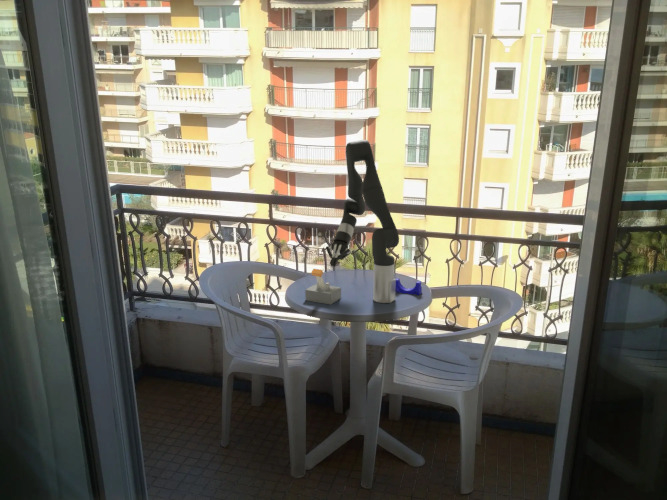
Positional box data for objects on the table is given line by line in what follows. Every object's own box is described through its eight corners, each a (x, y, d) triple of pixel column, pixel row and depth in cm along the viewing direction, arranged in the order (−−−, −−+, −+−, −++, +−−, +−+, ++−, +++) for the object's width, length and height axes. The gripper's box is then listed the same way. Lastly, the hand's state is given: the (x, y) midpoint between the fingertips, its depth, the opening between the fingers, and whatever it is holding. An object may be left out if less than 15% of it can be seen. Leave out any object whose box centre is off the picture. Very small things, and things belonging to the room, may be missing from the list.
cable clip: (421, 292, 279) (421, 280, 278) (418, 295, 276) (419, 283, 274) (397, 289, 284) (397, 277, 283) (394, 292, 280) (394, 280, 279)
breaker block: (341, 298, 272) (341, 281, 270) (331, 304, 263) (331, 287, 261) (316, 294, 277) (315, 277, 275) (305, 300, 269) (305, 283, 267)
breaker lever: (328, 285, 268) (322, 269, 261) (326, 289, 267) (320, 273, 260) (319, 284, 270) (313, 268, 263) (317, 288, 269) (311, 272, 262)
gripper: (329, 229, 283) (317, 260, 275) (354, 231, 277) (342, 263, 269) (334, 237, 288) (322, 268, 281) (358, 240, 283) (347, 271, 275)
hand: (332, 265), depth 275 cm, fingers closed
